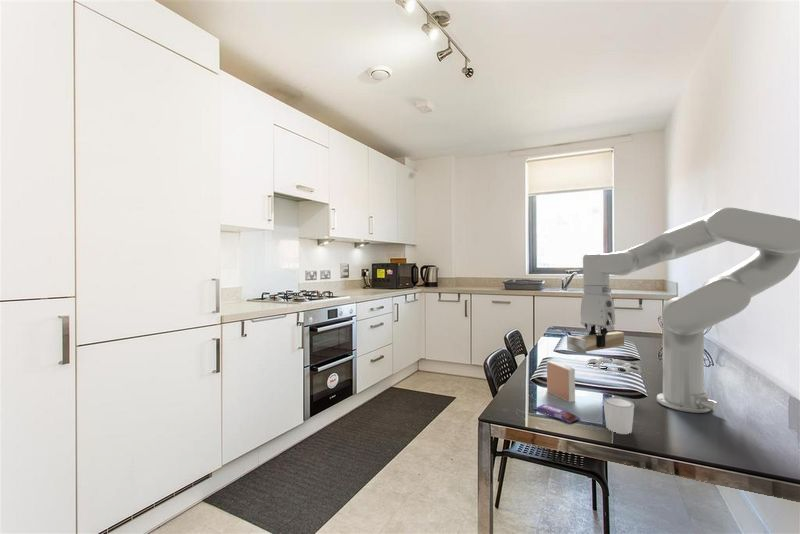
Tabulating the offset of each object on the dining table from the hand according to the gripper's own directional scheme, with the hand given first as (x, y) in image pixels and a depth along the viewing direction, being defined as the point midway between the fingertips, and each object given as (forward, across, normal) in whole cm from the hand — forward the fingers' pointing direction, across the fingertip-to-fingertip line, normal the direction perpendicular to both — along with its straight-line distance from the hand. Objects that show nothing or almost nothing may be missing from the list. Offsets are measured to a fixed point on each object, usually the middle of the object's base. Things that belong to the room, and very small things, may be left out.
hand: (597, 345), depth 120 cm
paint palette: (+15, +17, -25) cm, 34 cm away
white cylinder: (+15, -23, +17) cm, 32 cm away
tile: (+15, 0, +15) cm, 21 cm away
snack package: (+15, -11, +26) cm, 32 cm away
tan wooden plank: (+1, 0, -1) cm, 1 cm away
